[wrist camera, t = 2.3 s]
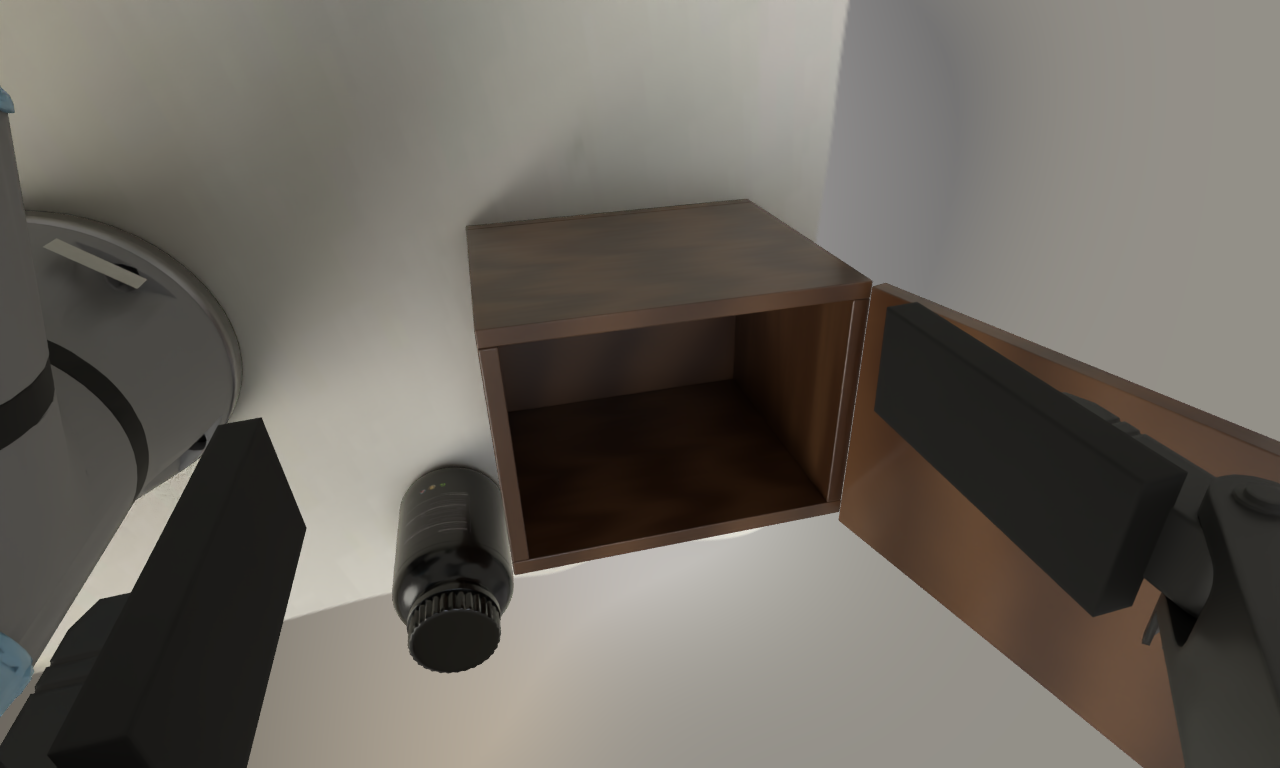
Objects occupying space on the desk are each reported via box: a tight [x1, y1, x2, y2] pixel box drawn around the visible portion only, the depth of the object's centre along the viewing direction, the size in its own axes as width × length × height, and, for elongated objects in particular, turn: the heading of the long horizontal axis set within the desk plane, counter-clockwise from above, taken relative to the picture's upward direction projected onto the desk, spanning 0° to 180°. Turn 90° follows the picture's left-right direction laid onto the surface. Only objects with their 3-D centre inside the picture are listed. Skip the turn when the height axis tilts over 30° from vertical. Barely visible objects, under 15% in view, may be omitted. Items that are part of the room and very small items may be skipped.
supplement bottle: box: [392, 467, 514, 673], centre depth 41 cm, size 7×7×12 cm
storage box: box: [466, 199, 872, 575], centre depth 37 cm, size 17×13×14 cm
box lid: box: [839, 283, 1280, 768], centre depth 26 cm, size 17×13×5 cm
